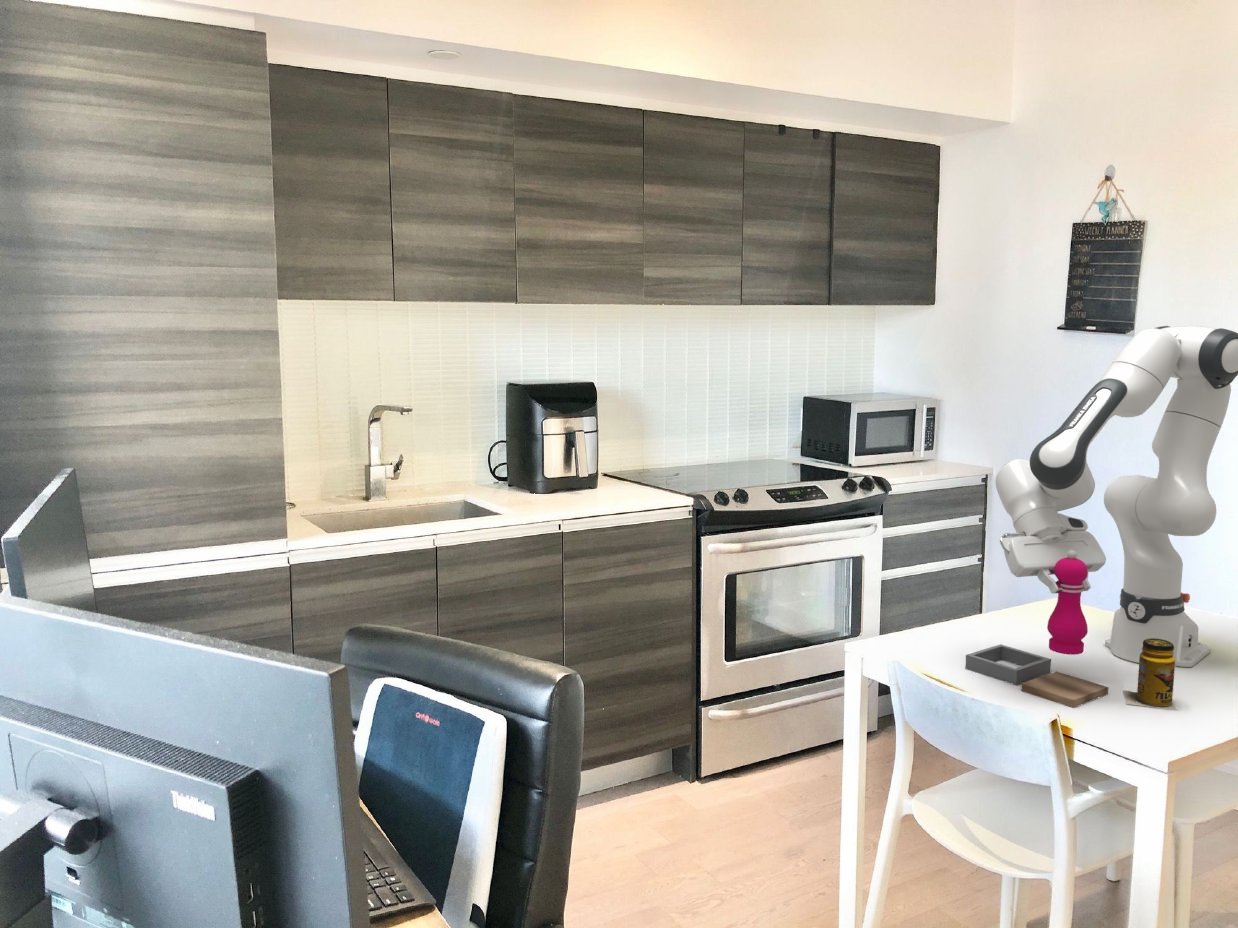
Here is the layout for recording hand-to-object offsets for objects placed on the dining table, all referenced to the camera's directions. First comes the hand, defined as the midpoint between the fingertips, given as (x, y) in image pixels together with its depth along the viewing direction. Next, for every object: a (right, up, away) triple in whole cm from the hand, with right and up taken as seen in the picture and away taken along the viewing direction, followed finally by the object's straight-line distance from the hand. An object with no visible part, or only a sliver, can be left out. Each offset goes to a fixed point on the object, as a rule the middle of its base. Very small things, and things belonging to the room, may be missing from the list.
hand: (1071, 590), depth 193 cm
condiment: (+14, -21, -1) cm, 26 cm away
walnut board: (0, -20, +3) cm, 21 cm away
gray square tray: (-6, -19, +16) cm, 25 cm away
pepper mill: (0, -12, +2) cm, 12 cm away
